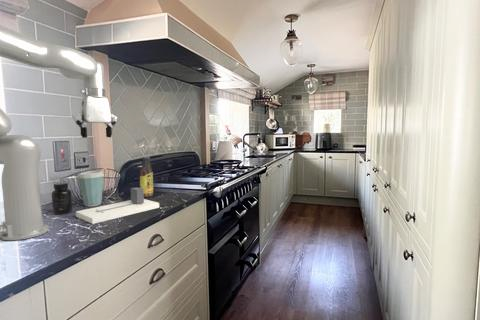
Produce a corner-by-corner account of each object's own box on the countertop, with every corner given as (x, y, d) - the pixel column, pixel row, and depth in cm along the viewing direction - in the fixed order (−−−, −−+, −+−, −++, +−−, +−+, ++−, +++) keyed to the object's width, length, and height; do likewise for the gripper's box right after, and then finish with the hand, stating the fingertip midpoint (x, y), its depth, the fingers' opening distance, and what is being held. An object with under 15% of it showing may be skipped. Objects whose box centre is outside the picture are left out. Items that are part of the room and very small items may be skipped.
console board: (92, 223, 103) (92, 218, 103) (76, 216, 112) (75, 211, 111) (159, 207, 124) (159, 202, 124) (141, 202, 133) (140, 197, 133)
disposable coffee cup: (87, 209, 122) (85, 174, 120) (73, 205, 128) (71, 172, 126) (110, 203, 131) (109, 171, 129) (96, 200, 136) (95, 169, 135)
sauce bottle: (149, 197, 142) (148, 157, 140) (137, 197, 143) (136, 157, 141) (155, 194, 148) (154, 156, 146) (144, 194, 150) (143, 156, 148)
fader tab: (137, 204, 121) (136, 189, 121) (131, 202, 124) (130, 188, 124) (143, 202, 124) (143, 188, 123) (137, 200, 127) (136, 187, 126)
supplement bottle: (55, 211, 119) (53, 182, 118) (74, 209, 122) (72, 181, 120) (50, 215, 113) (48, 185, 112) (70, 214, 115) (68, 184, 114)
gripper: (75, 91, 106) (78, 138, 108) (120, 95, 119) (122, 137, 121) (67, 92, 111) (70, 137, 113) (111, 96, 124) (113, 136, 126)
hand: (97, 137), depth 117 cm, fingers open, 9 cm apart
